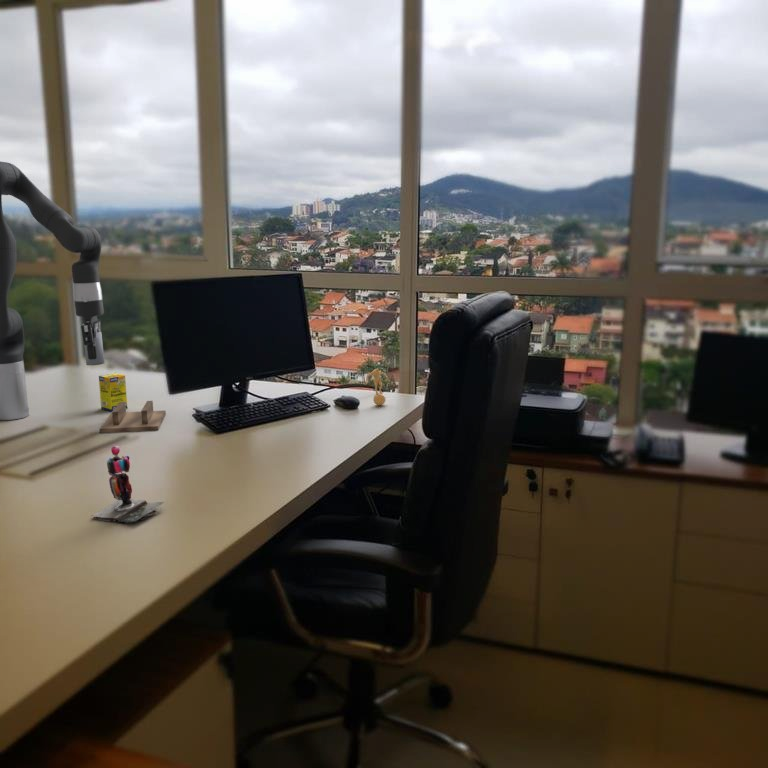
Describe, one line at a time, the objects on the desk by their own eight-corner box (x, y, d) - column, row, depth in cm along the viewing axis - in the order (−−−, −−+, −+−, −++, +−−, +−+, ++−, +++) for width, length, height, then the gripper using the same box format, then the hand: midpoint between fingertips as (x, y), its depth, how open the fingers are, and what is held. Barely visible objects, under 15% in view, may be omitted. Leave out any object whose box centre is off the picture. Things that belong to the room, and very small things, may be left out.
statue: (92, 525, 148) (77, 453, 146) (124, 507, 157) (110, 440, 154) (135, 526, 144) (121, 453, 142) (165, 508, 153) (152, 439, 150)
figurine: (369, 407, 236) (369, 371, 233) (363, 403, 241) (362, 367, 239) (393, 405, 239) (393, 369, 236) (386, 401, 244) (386, 366, 242)
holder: (99, 432, 208) (98, 415, 207) (111, 416, 226) (110, 400, 224) (158, 430, 211) (157, 412, 210) (165, 414, 228) (164, 397, 227)
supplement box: (111, 412, 231) (108, 378, 229) (100, 409, 235) (97, 375, 232) (128, 408, 236) (125, 374, 233) (117, 405, 239) (114, 372, 237)
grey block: (84, 365, 210) (81, 334, 208) (88, 362, 215) (85, 332, 213) (102, 364, 211) (99, 333, 209) (106, 361, 216) (103, 331, 214)
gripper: (80, 296, 215) (86, 354, 219) (68, 301, 202) (75, 362, 205) (107, 295, 217) (113, 352, 220) (96, 300, 203) (103, 361, 206)
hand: (94, 357), depth 213 cm, fingers closed on grey block, 5 cm apart
